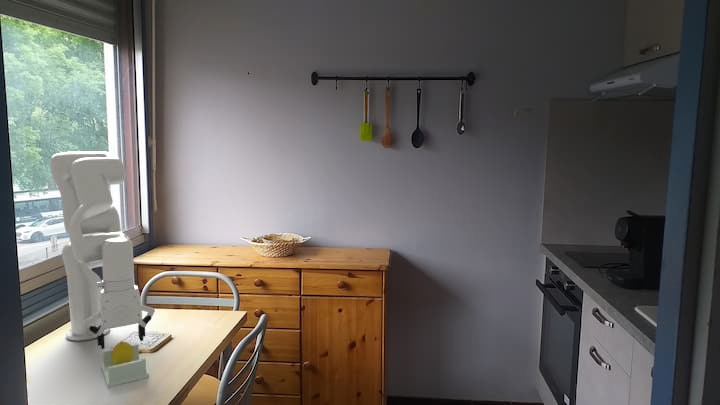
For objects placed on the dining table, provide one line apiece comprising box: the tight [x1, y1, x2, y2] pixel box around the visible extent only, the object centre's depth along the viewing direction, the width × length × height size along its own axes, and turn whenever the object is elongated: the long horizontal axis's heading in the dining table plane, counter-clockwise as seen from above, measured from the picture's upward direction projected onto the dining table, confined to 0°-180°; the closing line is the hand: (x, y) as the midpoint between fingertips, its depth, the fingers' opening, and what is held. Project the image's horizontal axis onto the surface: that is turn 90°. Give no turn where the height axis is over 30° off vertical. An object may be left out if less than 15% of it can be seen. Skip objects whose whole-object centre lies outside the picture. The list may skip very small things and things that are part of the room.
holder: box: [101, 343, 150, 388], centre depth 132 cm, size 13×10×5 cm
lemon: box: [112, 340, 134, 365], centre depth 132 cm, size 6×6×8 cm
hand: (122, 343), depth 132 cm, fingers open, 9 cm apart
